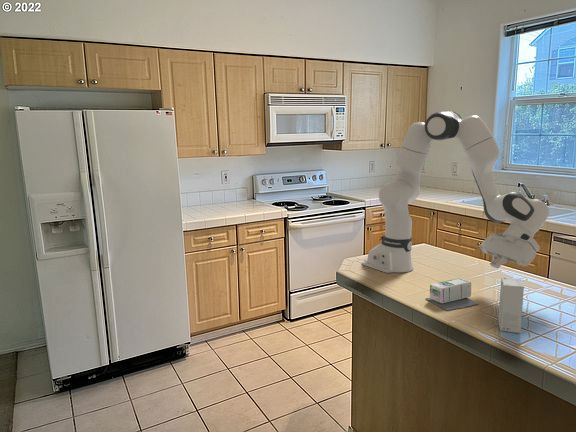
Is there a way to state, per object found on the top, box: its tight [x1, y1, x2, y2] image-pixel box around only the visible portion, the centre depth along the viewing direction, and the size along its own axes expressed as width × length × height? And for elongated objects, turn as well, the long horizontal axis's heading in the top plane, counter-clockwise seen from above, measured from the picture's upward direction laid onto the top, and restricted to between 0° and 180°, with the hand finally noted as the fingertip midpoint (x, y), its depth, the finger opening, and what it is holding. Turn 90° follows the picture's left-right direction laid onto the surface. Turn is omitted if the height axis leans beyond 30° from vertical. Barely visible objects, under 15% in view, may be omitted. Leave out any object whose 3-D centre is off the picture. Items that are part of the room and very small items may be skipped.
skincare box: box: [497, 277, 525, 334], centre depth 134 cm, size 8×6×15 cm
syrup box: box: [429, 277, 472, 303], centre depth 157 cm, size 6×6×14 cm
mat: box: [425, 297, 480, 312], centre depth 155 cm, size 11×14×1 cm
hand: (493, 266), depth 159 cm, fingers closed
